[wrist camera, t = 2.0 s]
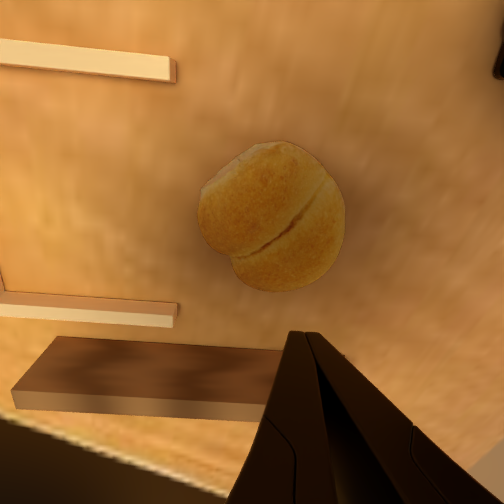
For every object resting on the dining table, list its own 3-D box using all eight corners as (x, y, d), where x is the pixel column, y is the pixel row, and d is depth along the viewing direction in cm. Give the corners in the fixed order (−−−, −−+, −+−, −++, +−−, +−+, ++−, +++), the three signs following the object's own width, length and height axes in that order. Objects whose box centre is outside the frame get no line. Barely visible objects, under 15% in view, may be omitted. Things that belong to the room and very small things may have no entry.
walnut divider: (344, 355, 24) (366, 410, 20) (340, 370, 25) (360, 427, 20) (57, 336, 23) (10, 390, 19) (60, 352, 24) (16, 409, 19)
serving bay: (175, 61, 16) (169, 56, 15) (177, 314, 23) (172, 327, 21) (-83, 33, 16) (-115, 26, 14) (-7, 302, 22) (-24, 314, 21)
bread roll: (264, 297, 22) (267, 332, 19) (180, 200, 20) (164, 219, 16) (365, 231, 21) (390, 257, 17) (289, 113, 18) (299, 113, 14)
